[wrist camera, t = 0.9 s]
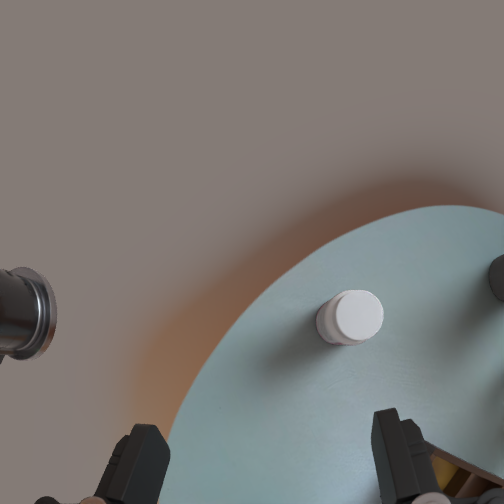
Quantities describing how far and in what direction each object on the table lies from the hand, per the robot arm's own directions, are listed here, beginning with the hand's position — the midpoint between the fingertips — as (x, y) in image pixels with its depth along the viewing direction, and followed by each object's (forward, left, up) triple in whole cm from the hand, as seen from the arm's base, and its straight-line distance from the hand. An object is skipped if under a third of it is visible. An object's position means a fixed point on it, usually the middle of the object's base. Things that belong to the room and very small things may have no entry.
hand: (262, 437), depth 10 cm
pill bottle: (+8, -3, -22) cm, 23 cm away
